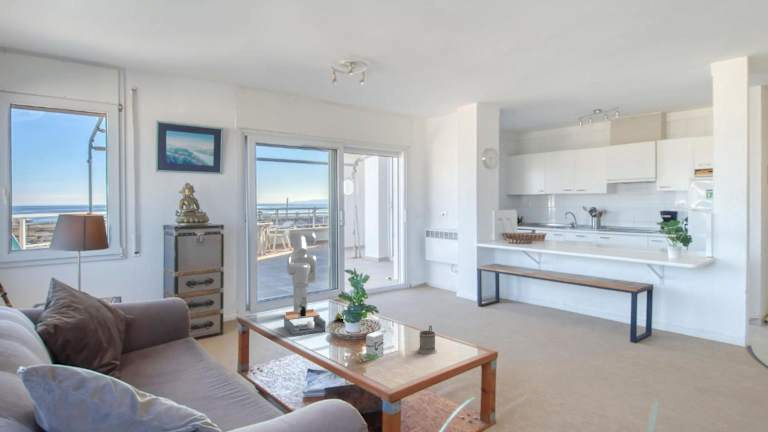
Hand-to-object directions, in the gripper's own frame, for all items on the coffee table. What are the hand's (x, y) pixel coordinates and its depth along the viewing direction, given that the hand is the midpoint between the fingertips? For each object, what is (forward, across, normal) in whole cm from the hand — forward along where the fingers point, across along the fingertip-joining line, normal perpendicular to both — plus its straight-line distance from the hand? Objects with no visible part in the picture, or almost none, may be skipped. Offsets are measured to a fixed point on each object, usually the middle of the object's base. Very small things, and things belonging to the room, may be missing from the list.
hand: (302, 315), depth 255 cm
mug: (+12, +59, +53) cm, 80 cm away
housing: (+11, -7, +3) cm, 13 cm away
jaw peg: (+1, 0, 0) cm, 1 cm away
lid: (+4, -13, +3) cm, 14 cm away
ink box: (+12, +56, +23) cm, 61 cm away
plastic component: (+11, -17, +38) cm, 43 cm away
